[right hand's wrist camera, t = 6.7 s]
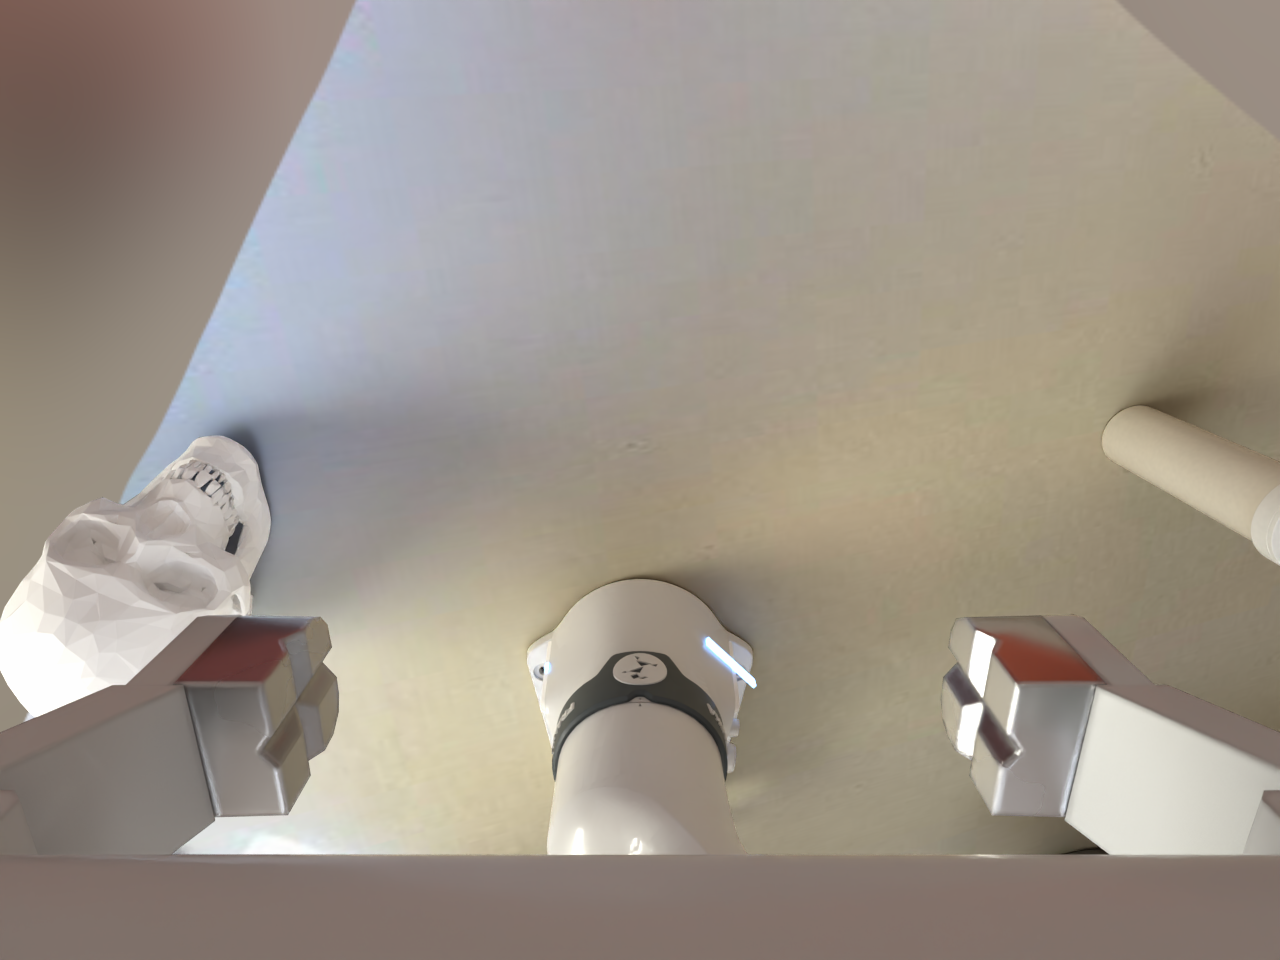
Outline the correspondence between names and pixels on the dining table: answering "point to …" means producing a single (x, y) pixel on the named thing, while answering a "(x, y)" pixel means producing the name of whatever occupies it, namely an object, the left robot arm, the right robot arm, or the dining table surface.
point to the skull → (134, 577)
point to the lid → (1268, 526)
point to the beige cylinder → (1192, 465)
